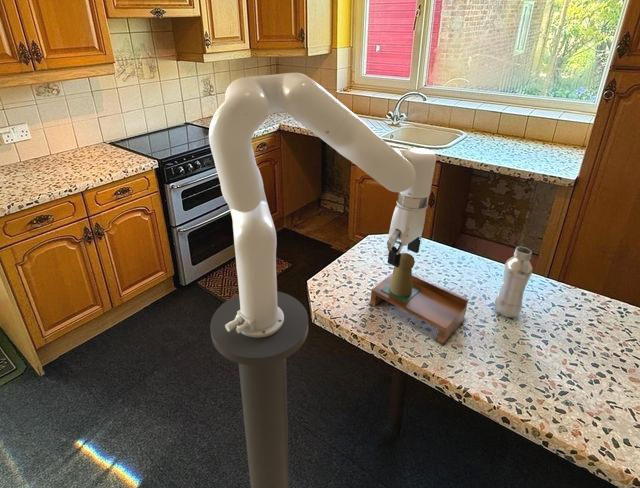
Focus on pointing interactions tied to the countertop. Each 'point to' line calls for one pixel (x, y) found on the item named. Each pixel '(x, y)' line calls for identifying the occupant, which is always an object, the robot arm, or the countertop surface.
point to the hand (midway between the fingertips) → (403, 257)
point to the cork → (403, 276)
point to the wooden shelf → (426, 304)
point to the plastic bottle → (514, 283)
